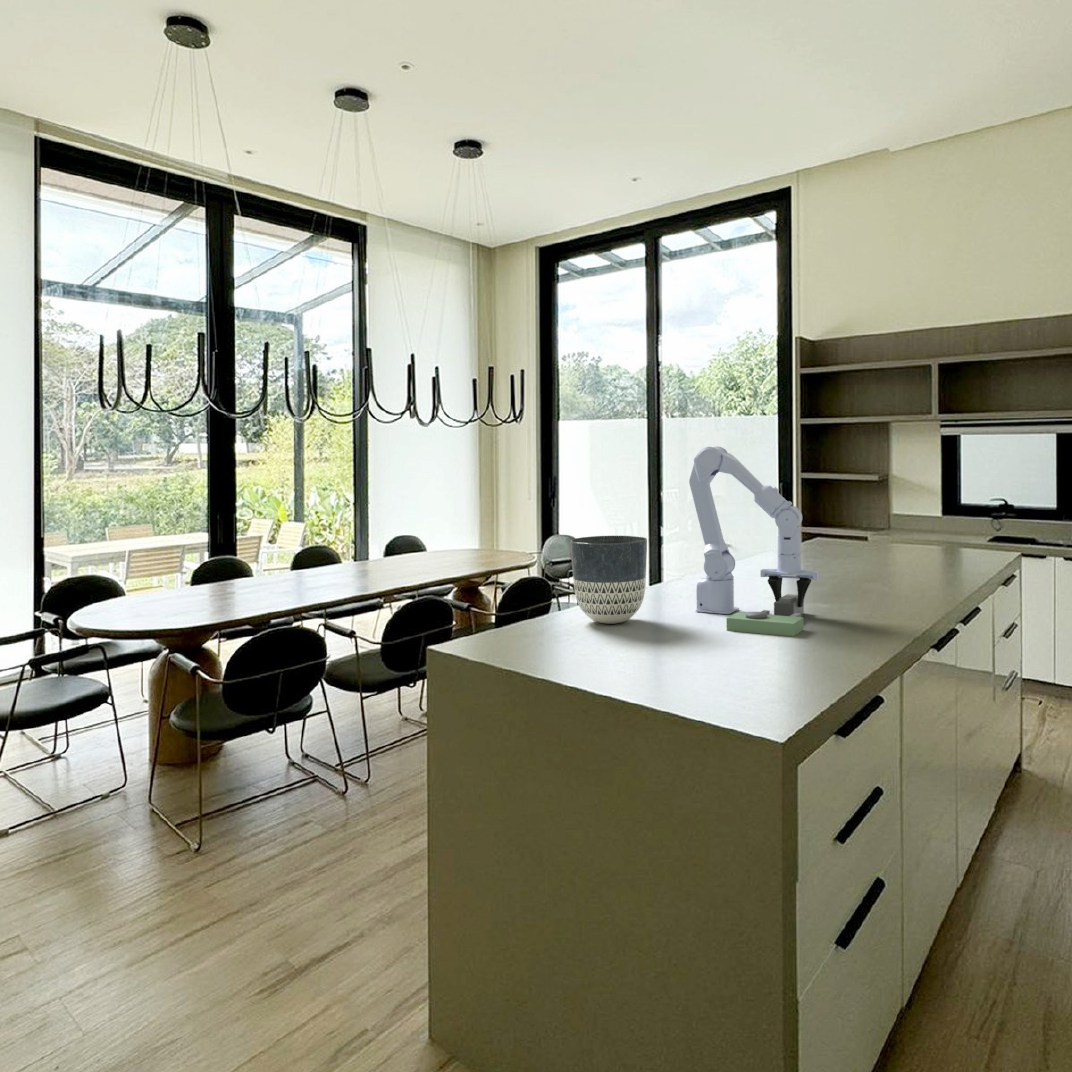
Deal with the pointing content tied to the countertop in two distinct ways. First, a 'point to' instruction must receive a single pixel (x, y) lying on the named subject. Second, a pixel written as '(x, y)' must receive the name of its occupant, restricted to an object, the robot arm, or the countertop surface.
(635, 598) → the planter
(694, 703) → the countertop surface
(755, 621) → the deck
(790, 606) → the stepped grey block
